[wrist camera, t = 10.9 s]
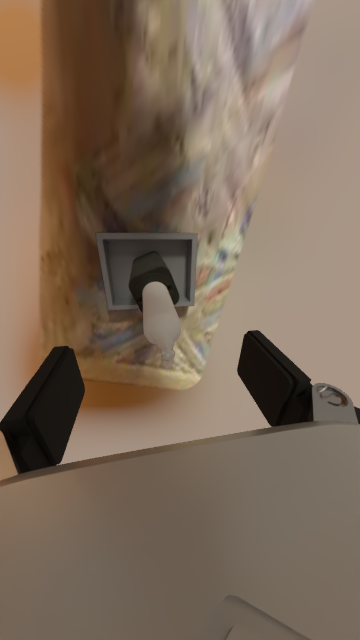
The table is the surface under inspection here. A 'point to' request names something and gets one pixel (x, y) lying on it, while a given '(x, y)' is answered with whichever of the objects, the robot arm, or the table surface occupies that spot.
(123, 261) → the tray
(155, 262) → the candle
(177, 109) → the table surface
